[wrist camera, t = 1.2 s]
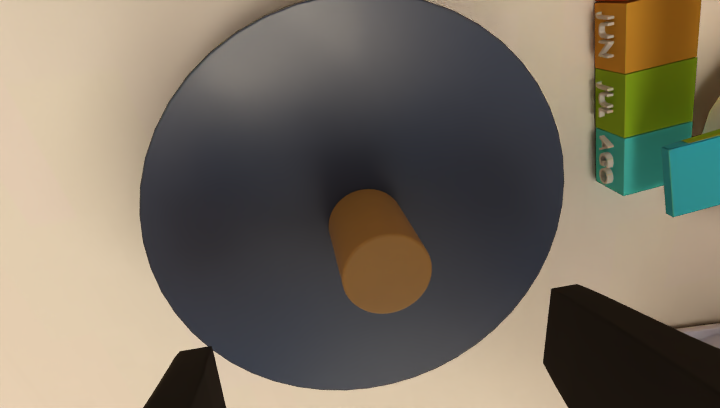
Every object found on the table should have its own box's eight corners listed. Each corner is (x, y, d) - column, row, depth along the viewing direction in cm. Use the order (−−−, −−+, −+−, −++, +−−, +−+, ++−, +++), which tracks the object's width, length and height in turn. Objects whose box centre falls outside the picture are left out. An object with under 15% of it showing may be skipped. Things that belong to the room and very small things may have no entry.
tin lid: (574, -12, 15) (682, -16, 11) (525, 347, 20) (587, 432, 16) (104, -3, 13) (33, -2, 9) (183, 392, 19) (160, 501, 15)
